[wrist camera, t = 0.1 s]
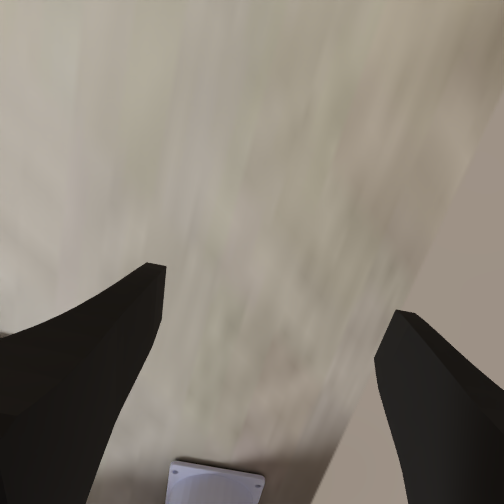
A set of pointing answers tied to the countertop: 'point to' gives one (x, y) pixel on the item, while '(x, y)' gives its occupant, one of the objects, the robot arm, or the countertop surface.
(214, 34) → the countertop surface
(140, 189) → the countertop surface
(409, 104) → the countertop surface
